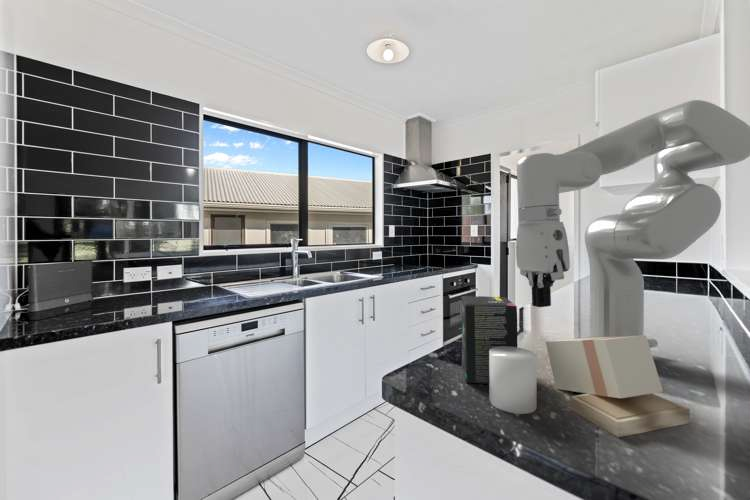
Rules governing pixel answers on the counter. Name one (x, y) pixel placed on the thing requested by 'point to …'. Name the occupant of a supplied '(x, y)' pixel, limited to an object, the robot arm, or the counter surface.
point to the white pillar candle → (513, 379)
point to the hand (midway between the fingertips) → (541, 305)
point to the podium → (629, 413)
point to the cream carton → (604, 366)
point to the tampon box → (485, 333)
